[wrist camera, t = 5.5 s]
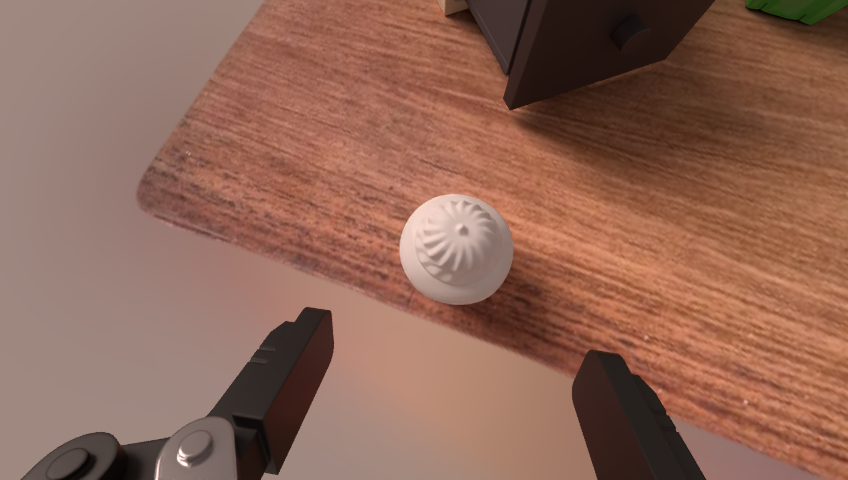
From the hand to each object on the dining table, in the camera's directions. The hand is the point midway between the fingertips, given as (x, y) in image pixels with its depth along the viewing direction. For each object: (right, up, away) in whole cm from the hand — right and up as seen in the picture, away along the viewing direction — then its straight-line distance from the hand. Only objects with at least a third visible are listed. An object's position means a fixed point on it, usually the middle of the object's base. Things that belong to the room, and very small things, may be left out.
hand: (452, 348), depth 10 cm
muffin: (+1, +2, +11) cm, 11 cm away
